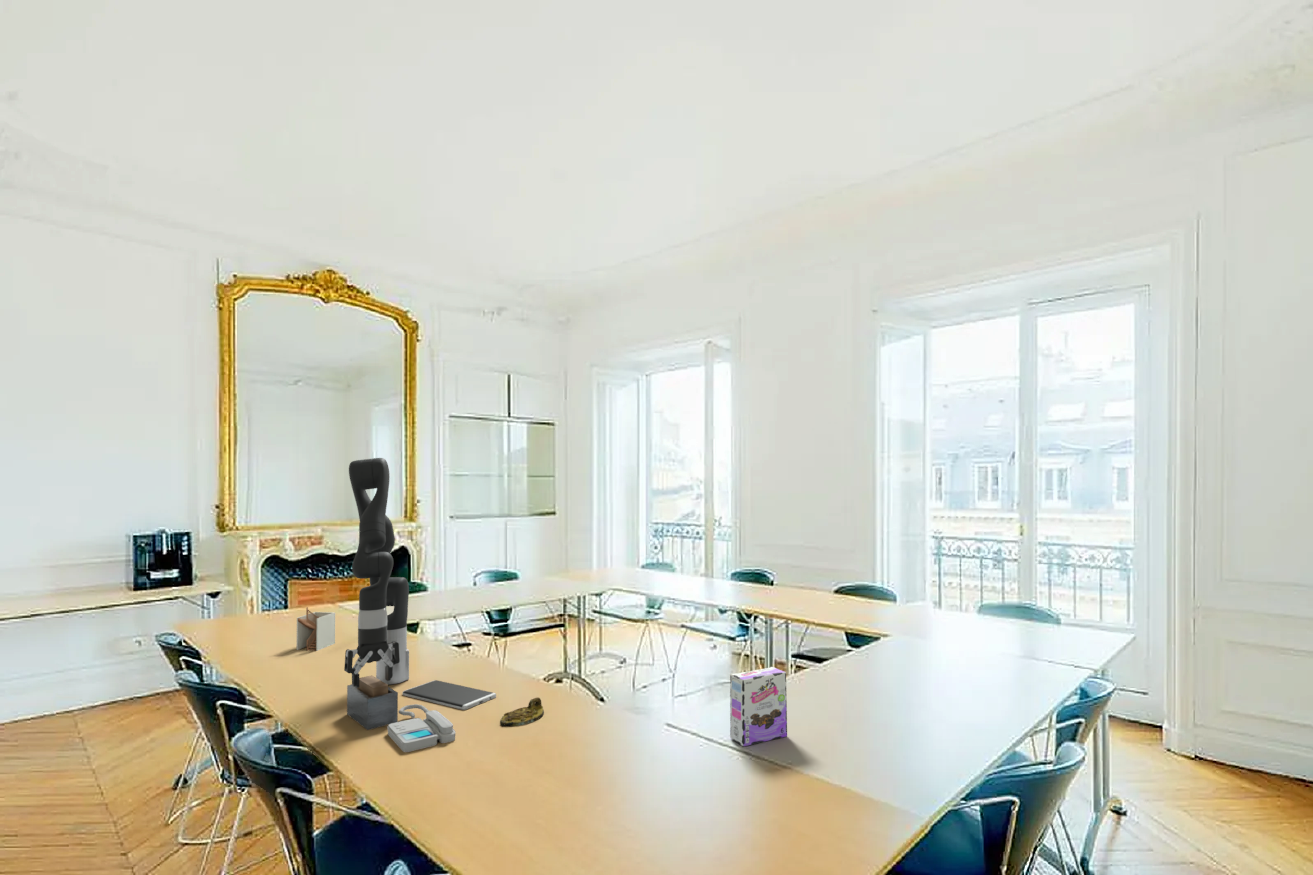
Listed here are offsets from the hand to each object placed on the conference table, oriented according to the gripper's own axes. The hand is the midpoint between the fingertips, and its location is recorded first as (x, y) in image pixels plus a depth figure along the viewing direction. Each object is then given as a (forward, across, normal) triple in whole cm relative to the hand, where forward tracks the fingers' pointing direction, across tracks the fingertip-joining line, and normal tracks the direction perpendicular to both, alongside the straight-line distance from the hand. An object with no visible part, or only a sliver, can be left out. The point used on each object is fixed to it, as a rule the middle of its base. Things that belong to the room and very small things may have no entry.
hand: (372, 683), depth 193 cm
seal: (+10, -30, +28) cm, 43 cm away
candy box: (+10, -67, +82) cm, 106 cm away
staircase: (+10, -12, -94) cm, 95 cm away
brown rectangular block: (+4, 0, 0) cm, 4 cm away
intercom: (+10, -5, +17) cm, 21 cm away
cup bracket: (+9, 0, 0) cm, 9 cm away
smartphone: (+10, -24, -3) cm, 26 cm away
